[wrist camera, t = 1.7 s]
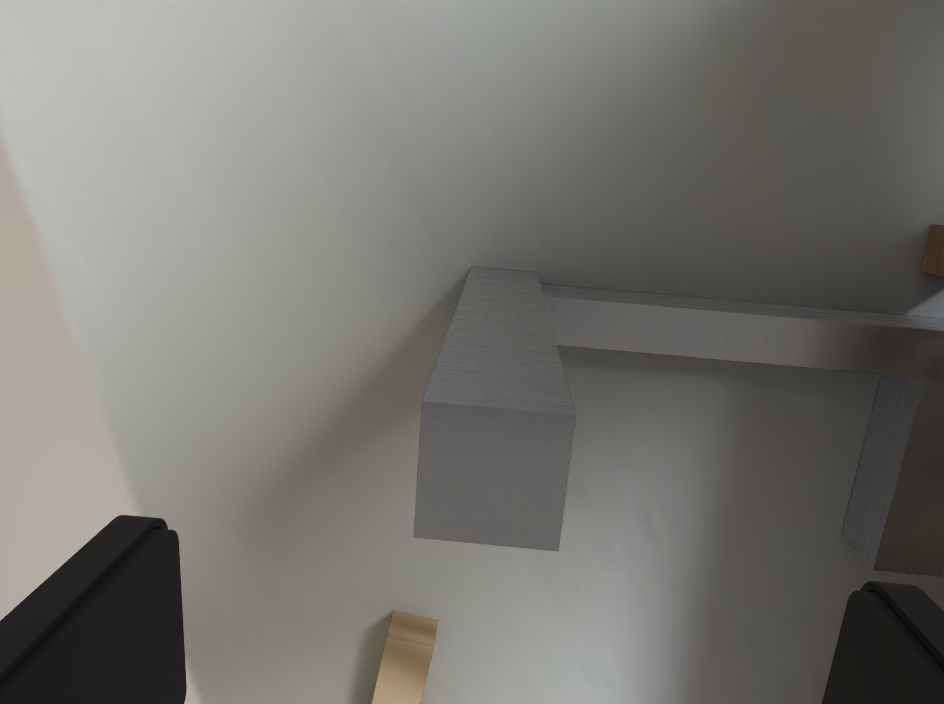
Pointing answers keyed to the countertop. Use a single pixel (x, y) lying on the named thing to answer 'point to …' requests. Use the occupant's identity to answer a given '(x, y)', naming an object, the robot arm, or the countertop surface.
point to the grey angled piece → (669, 333)
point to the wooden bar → (405, 659)
